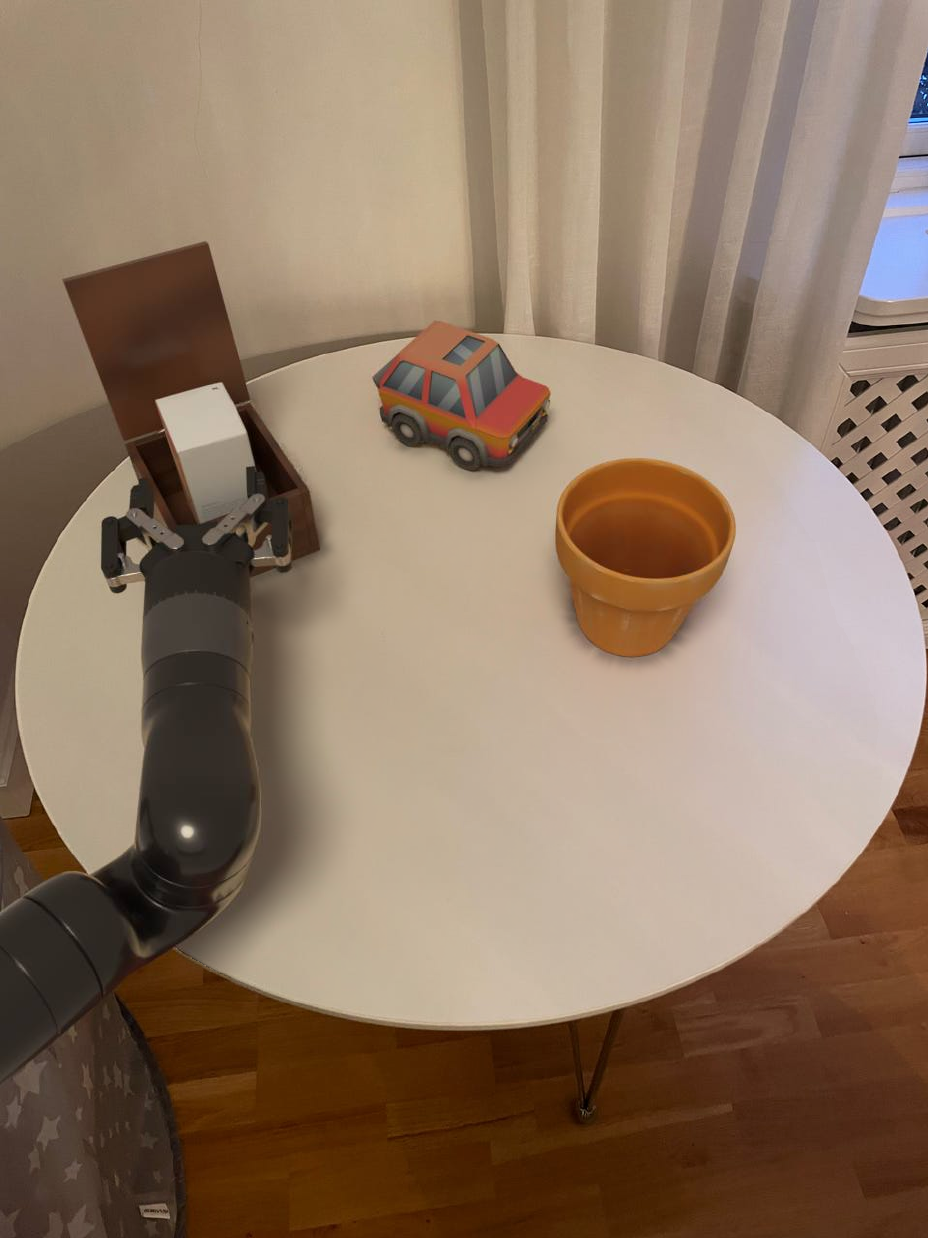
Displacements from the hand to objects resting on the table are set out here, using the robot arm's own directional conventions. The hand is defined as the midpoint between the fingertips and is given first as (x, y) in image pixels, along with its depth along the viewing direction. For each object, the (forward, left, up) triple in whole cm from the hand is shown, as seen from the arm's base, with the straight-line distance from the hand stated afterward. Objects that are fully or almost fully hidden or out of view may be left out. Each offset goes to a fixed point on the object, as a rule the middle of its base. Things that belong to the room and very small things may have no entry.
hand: (199, 479), depth 76 cm
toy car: (+25, +19, -14) cm, 34 cm away
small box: (0, +8, -13) cm, 15 cm away
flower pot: (+35, -10, -14) cm, 39 cm away
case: (0, +8, -13) cm, 16 cm away
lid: (-3, +16, +2) cm, 16 cm away
